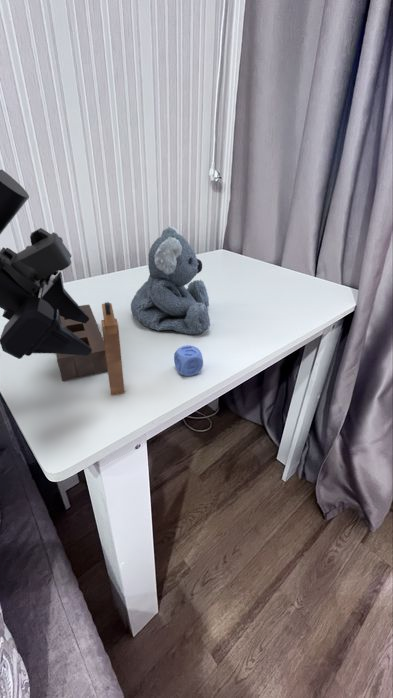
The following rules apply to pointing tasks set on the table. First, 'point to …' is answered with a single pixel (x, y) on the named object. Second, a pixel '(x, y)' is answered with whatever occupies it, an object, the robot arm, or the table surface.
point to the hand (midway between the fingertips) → (88, 335)
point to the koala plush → (172, 288)
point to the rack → (92, 337)
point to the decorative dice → (188, 360)
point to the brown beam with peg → (112, 350)
